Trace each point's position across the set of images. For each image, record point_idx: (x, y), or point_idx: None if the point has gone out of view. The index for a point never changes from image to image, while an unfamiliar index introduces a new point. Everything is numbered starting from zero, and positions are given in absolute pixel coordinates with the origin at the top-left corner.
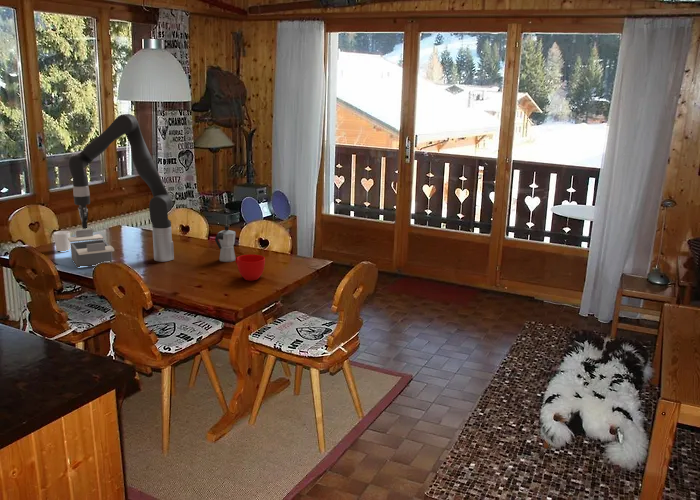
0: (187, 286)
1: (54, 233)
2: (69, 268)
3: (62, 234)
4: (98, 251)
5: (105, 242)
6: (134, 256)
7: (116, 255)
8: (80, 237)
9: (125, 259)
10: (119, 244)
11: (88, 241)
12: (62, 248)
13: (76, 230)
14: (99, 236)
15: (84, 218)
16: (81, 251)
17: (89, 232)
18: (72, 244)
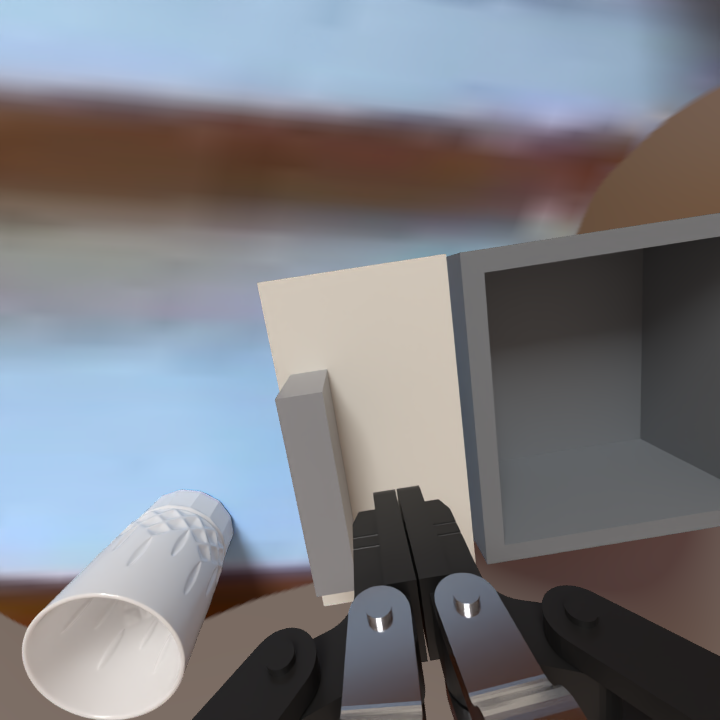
0: None
1: (104, 705)
2: None
3: (184, 648)
4: None
5: (602, 242)
6: (494, 28)
7: (415, 178)
8: (369, 494)
9: (554, 116)
10: (60, 121)
11: (489, 413)
12: (225, 550)
13: (333, 585)
14: (383, 297)
15: (604, 712)
16: None
17: (331, 419)
18: (550, 546)
